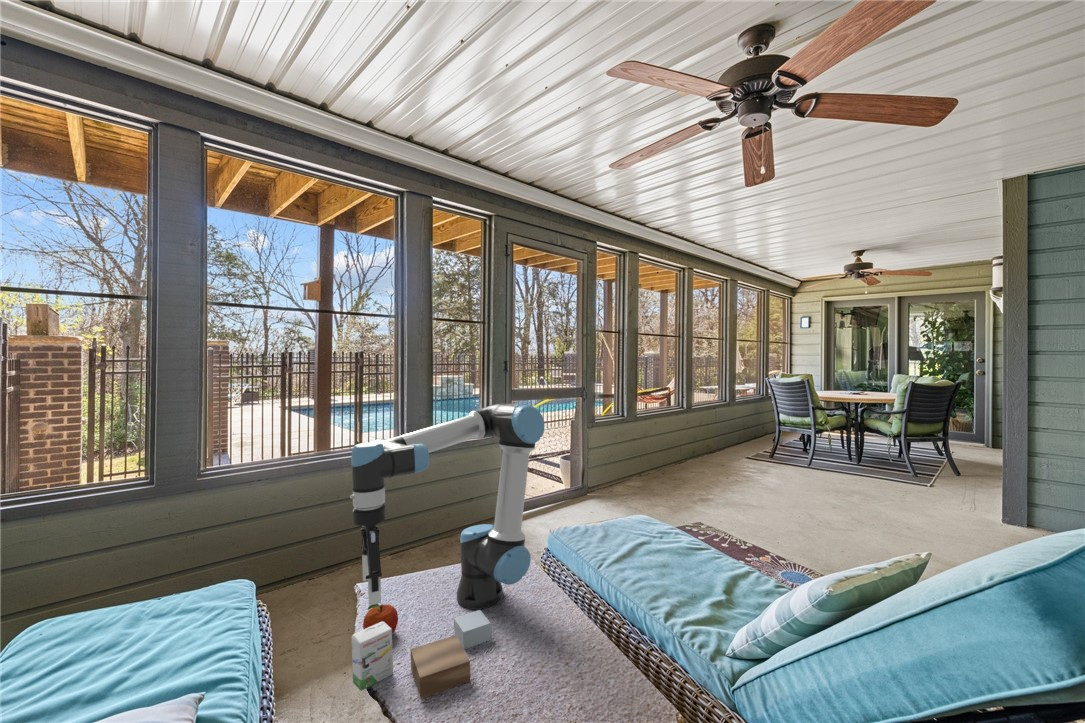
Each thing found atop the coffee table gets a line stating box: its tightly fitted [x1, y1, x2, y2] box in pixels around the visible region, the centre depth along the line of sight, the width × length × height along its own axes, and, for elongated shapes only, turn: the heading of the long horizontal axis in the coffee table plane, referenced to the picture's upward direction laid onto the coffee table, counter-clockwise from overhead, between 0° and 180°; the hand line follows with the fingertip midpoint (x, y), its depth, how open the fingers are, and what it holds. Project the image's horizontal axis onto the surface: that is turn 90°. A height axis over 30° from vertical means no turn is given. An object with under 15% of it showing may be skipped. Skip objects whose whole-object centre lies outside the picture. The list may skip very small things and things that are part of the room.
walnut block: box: [409, 635, 471, 700], centre depth 114 cm, size 12×12×5 cm
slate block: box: [453, 609, 492, 651], centre depth 130 cm, size 8×8×5 cm
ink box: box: [351, 622, 394, 692], centre depth 114 cm, size 8×5×12 cm, turn 136°
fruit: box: [362, 603, 399, 635], centre depth 131 cm, size 10×10×10 cm
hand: (371, 591), depth 114 cm, fingers open, 13 cm apart
